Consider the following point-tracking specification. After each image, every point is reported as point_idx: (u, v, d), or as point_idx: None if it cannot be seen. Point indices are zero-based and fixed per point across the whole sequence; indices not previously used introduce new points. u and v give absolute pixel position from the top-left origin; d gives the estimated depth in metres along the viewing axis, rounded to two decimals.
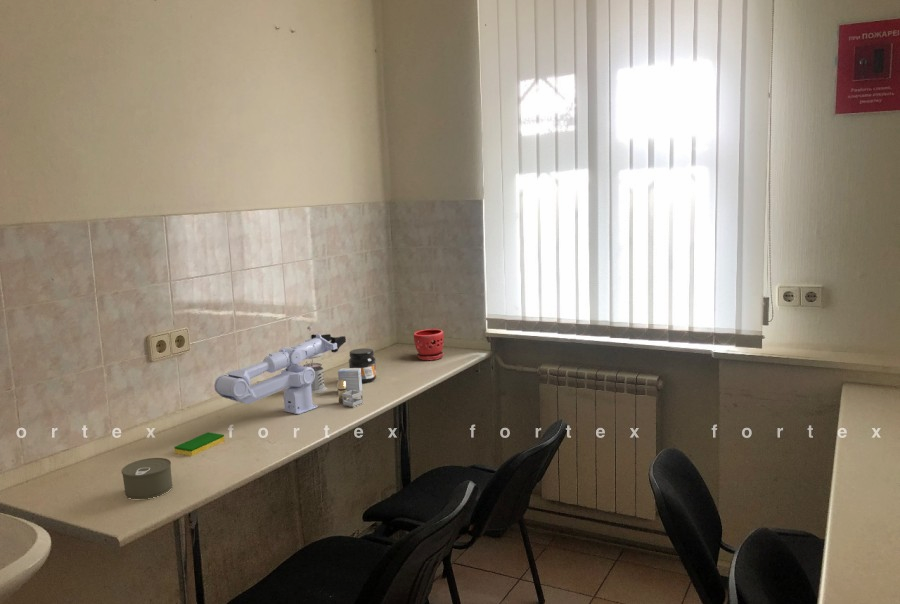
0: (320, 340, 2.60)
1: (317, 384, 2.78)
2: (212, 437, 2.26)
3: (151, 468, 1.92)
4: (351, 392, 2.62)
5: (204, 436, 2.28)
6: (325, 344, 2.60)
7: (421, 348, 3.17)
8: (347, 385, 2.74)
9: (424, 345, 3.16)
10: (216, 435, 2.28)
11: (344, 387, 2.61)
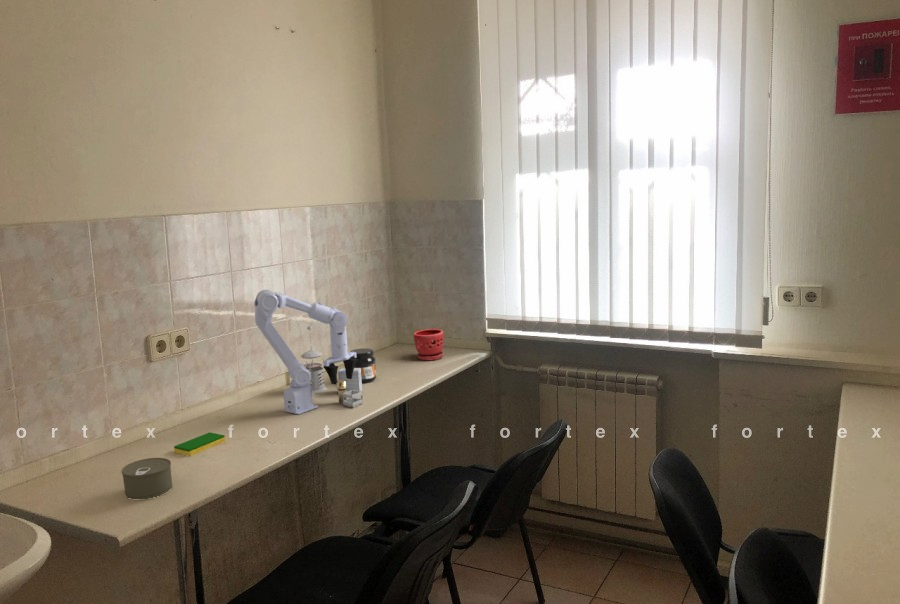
0: (340, 356, 2.58)
1: (317, 384, 2.78)
2: (212, 438, 2.26)
3: (151, 468, 1.92)
4: (351, 392, 2.62)
5: (205, 436, 2.28)
6: None
7: (421, 348, 3.17)
8: (347, 385, 2.74)
9: (424, 345, 3.16)
10: (217, 435, 2.28)
11: (344, 387, 2.61)
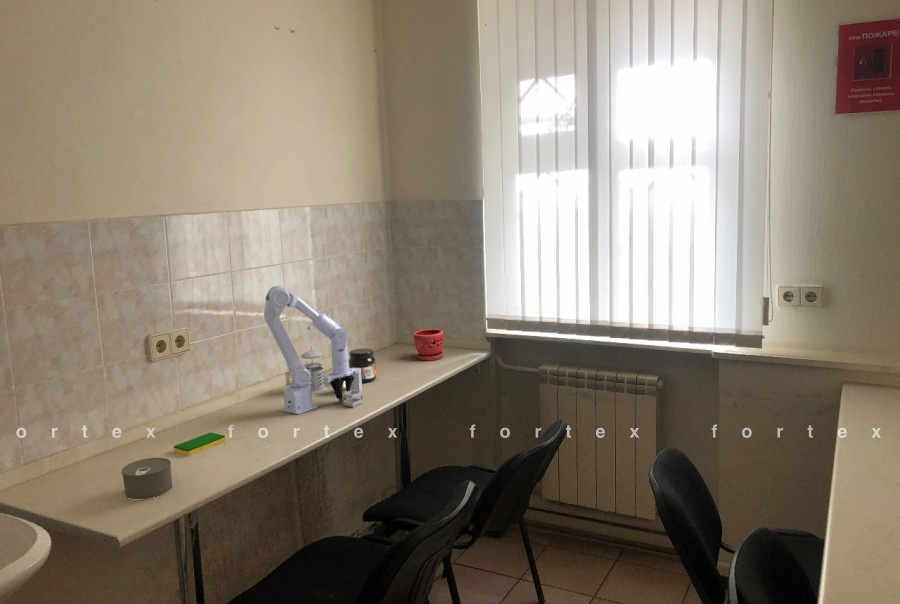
0: (341, 372, 2.59)
1: (317, 384, 2.78)
2: (212, 438, 2.26)
3: (151, 468, 1.92)
4: (351, 392, 2.62)
5: (205, 436, 2.28)
6: (335, 375, 2.59)
7: (421, 348, 3.17)
8: None
9: (424, 345, 3.16)
10: (217, 435, 2.28)
11: (344, 387, 2.61)
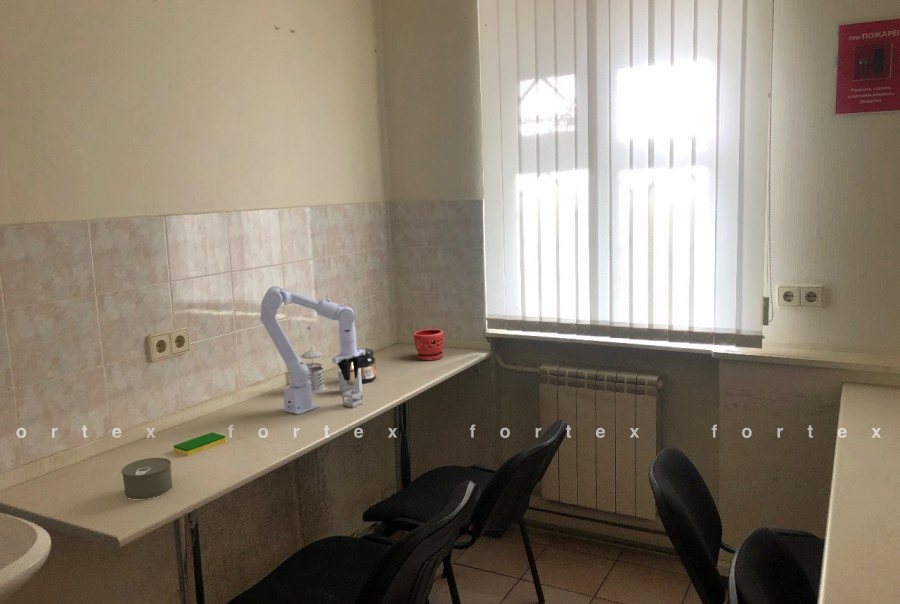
0: (349, 353, 2.55)
1: (317, 384, 2.78)
2: (212, 438, 2.26)
3: (151, 468, 1.92)
4: (351, 392, 2.62)
5: (206, 436, 2.28)
6: None
7: (421, 348, 3.17)
8: (347, 385, 2.74)
9: (424, 345, 3.16)
10: (217, 435, 2.28)
11: (352, 368, 2.57)
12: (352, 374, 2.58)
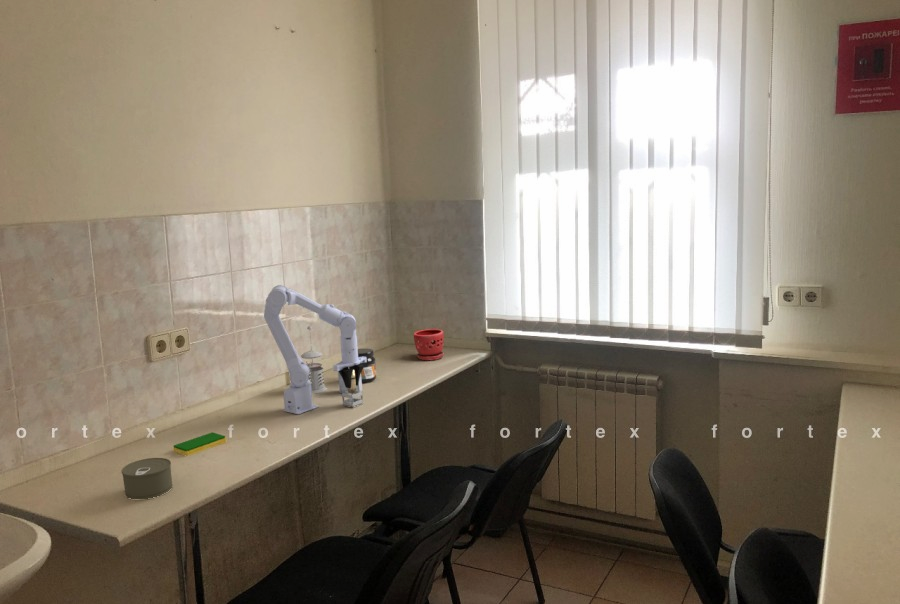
0: (350, 361, 2.55)
1: (317, 384, 2.78)
2: (212, 438, 2.25)
3: (151, 468, 1.92)
4: None
5: (206, 436, 2.28)
6: (344, 363, 2.55)
7: (421, 348, 3.17)
8: None
9: (424, 345, 3.16)
10: (217, 436, 2.28)
11: (353, 376, 2.57)
12: (353, 382, 2.58)
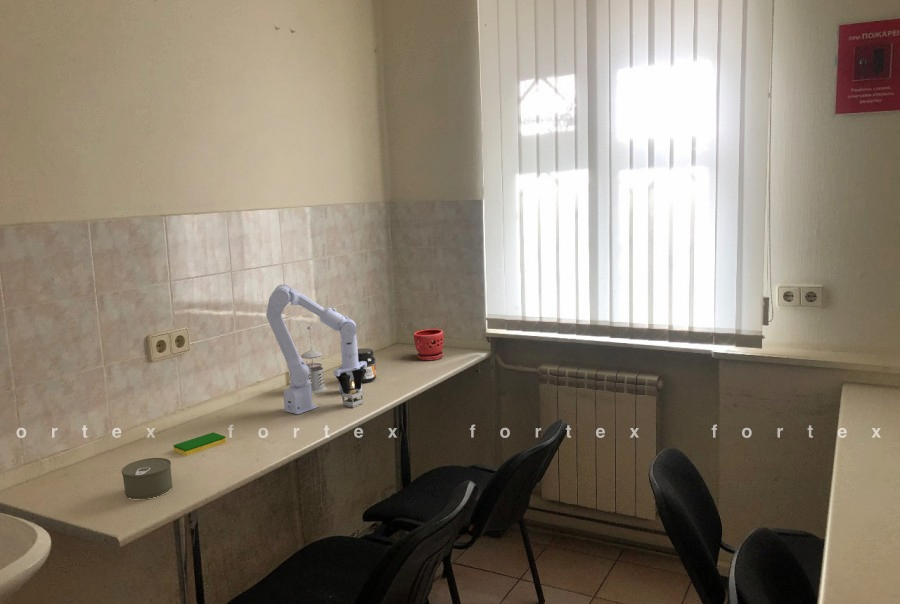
0: (351, 365, 2.55)
1: (317, 384, 2.78)
2: (212, 438, 2.25)
3: (151, 468, 1.92)
4: None
5: (206, 436, 2.28)
6: (345, 368, 2.55)
7: (421, 348, 3.17)
8: None
9: (424, 345, 3.16)
10: (218, 436, 2.27)
11: (353, 386, 2.59)
12: (353, 392, 2.59)
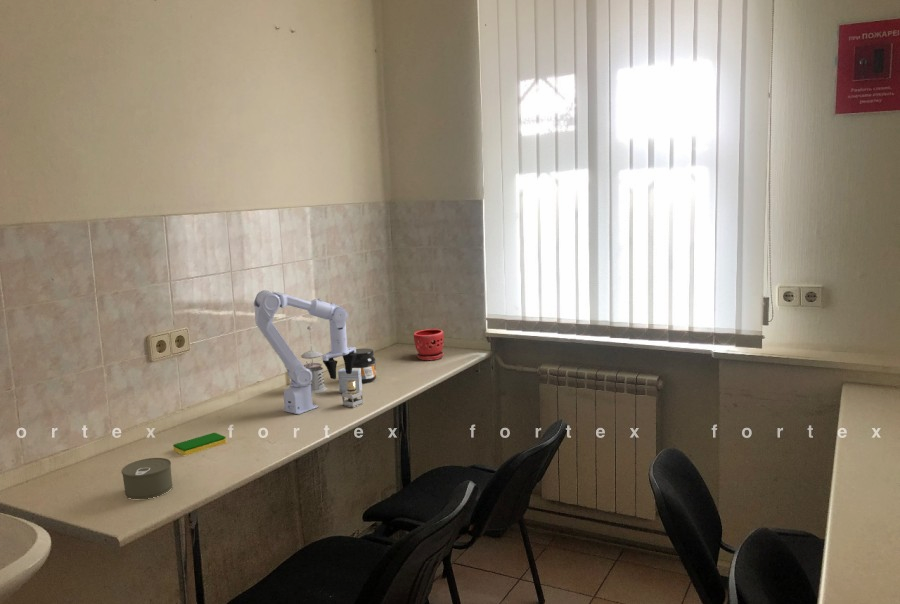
0: (339, 351, 2.59)
1: (317, 384, 2.78)
2: (212, 439, 2.25)
3: (151, 468, 1.92)
4: None
5: (207, 436, 2.28)
6: (334, 353, 2.59)
7: (421, 348, 3.17)
8: None
9: (424, 345, 3.16)
10: (218, 436, 2.27)
11: (353, 388, 2.58)
12: (354, 393, 2.58)
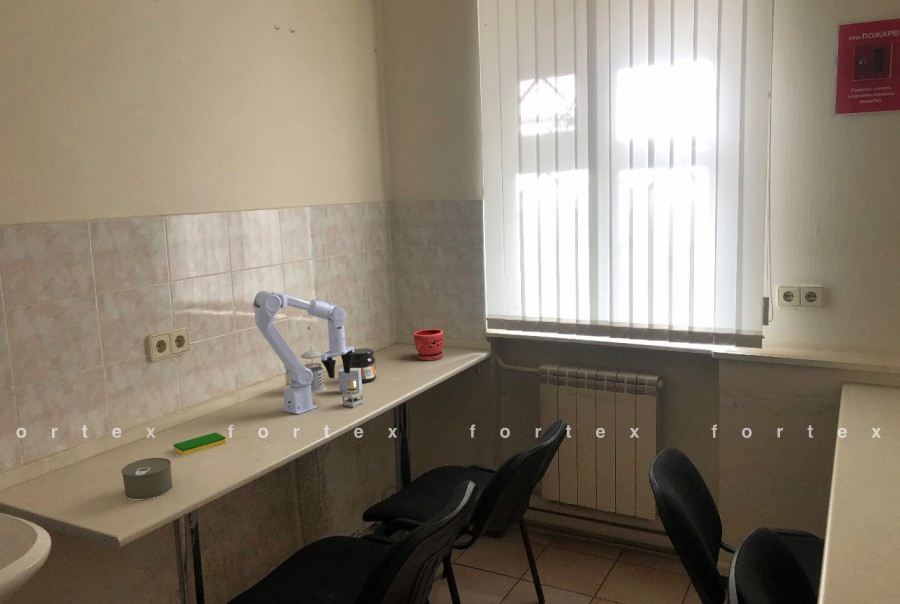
0: (338, 350, 2.60)
1: (317, 384, 2.78)
2: (212, 439, 2.25)
3: (151, 468, 1.92)
4: None
5: (207, 436, 2.27)
6: None
7: (421, 348, 3.17)
8: (347, 385, 2.74)
9: (424, 345, 3.16)
10: (218, 436, 2.27)
11: (354, 387, 2.58)
12: (354, 393, 2.59)
